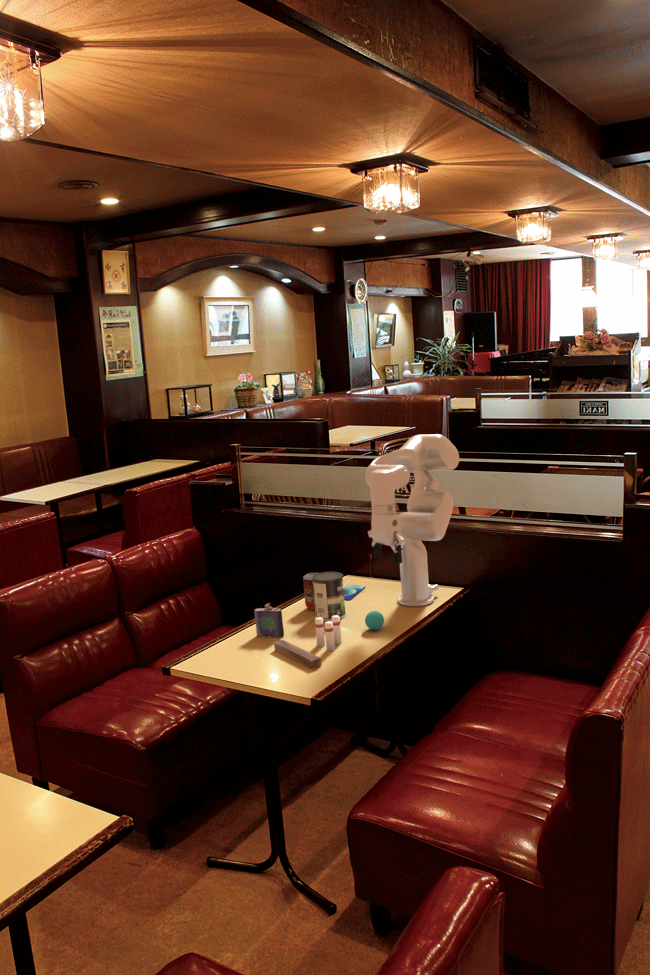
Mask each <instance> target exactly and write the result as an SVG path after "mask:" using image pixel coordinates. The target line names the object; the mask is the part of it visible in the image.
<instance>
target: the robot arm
mask: <svg viewBox="0 0 650 975" xmlns="http://www.w3.org/2000/svg"><path fill="white" fill-rule="evenodd" d="M459 463H460V454H459V451H458V449H457V448H456V446H455V445H454V444H453V443H452V442H451V440H450V439H448V438H447V437H446V436H445V435H442V434H438V433H435V434H434V433H433V434H430V433H429V434H416V435H413V436H411V437H410V438H409V439H408V440H407V441H406V442H405V443H404V444H403V445H401V447H400V448H399V449H396V450H393V451H390V452H388V453H386V454H383V455H380V456H378V457H377V458H375V459H374V460H372V462H371V463H370V464H369V465H368V466H367V468H366V470H365V475H364V478H365V479H364V480H365V482H366V484H367V485H368V486H369V490H370V491H369V492H370V501H371V522H370V524H371V525H370V527H371V529H370V530H368V531H367V534H368V537H369V540H370V542H371V547H372V551H373V558H374V560H377V559H382V558H383V556H384V554H383V545H385V546H388V547H390V548H391V549H392V550H393V552H392V564H393V566H394V565H395V566H396V565H399V571H400V572H399V573H400V587H401V594H400V595H399V596H398V597H397V602H398V604H400V605H401V606H404V607H423V606H427V605H430V604H433V602H434V601H435V597H434V595H433V592H435V591H438V590H439V589H440V587H439V585H438V584H434V585H430V584H429V583H430V582H429V569H428V568H429V566H428V551H427V549H426V546H425V545H424V543H423V542H422V541H429V542H437V541H441V540H442V539H443V538H444V537H445V535H446V531H447V528H448V525H449V523H450V520H451V517H452V513H453V510H454V498H453V496H452V494H451V493H450V492H449V491H448V490H443V489H439V482H438V481H437V479H436V478H435V476H434V475H433V474H432V473H431V472H430V471H452V470H455V469H456V468H458V465H459ZM410 472H413V476H414V484H413V486H412V489H411V492H410V494H409V497H408V500H407V504H406V509H407V511H405V512H404V511H403V512H401V513H397V508H396V493H395V492H396V491H395V490H398V489H399V490H400V489H402V488H403V489H404V487H406V486H407V485H408V484H409V482H410V478H411V473H410Z"/></svg>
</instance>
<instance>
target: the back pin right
mask: <svg viewBox="0 0 650 975" xmlns="http://www.w3.org/2000/svg"><path fill="white" fill-rule="evenodd" d="M314 626H315V627H314V628H315V637H316V646H317V647H318V646H319V648H322V647H321V646H323V647H325V646H326V639H325V627H324V621H323V618H321V617H318V618H316V617H315V618H314Z"/></svg>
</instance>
